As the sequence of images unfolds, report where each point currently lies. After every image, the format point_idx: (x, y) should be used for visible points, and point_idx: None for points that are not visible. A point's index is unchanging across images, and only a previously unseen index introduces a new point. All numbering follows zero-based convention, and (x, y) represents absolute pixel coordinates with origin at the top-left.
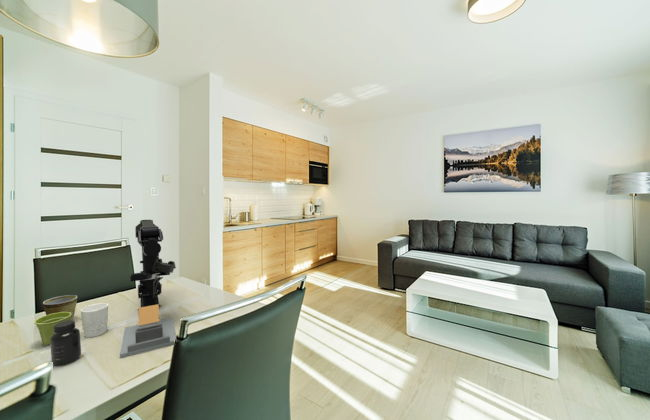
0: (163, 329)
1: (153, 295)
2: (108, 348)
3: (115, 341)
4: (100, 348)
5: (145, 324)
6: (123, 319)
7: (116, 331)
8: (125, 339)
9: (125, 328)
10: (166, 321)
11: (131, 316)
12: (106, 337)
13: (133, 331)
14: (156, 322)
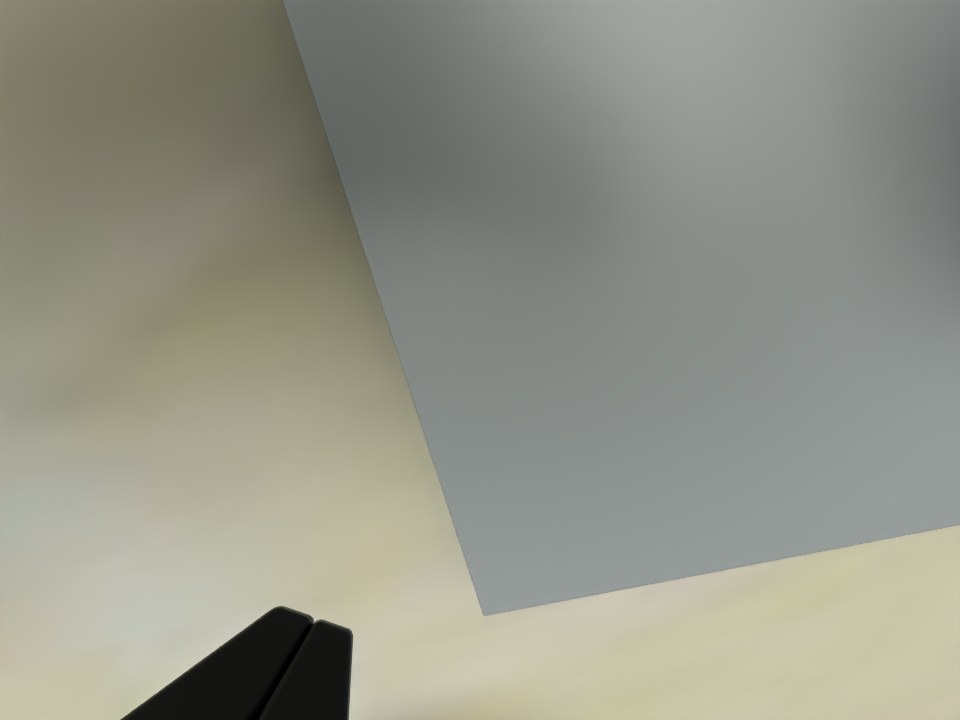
0: (825, 5)
1: (337, 637)
2: (956, 608)
3: (790, 594)
4: (906, 680)
5: (469, 379)
6: (103, 695)
7: (481, 664)
8: (920, 504)
9: (526, 601)
10: (443, 32)
11: (8, 637)
12: (622, 709)
13: (682, 477)
14: (440, 218)
